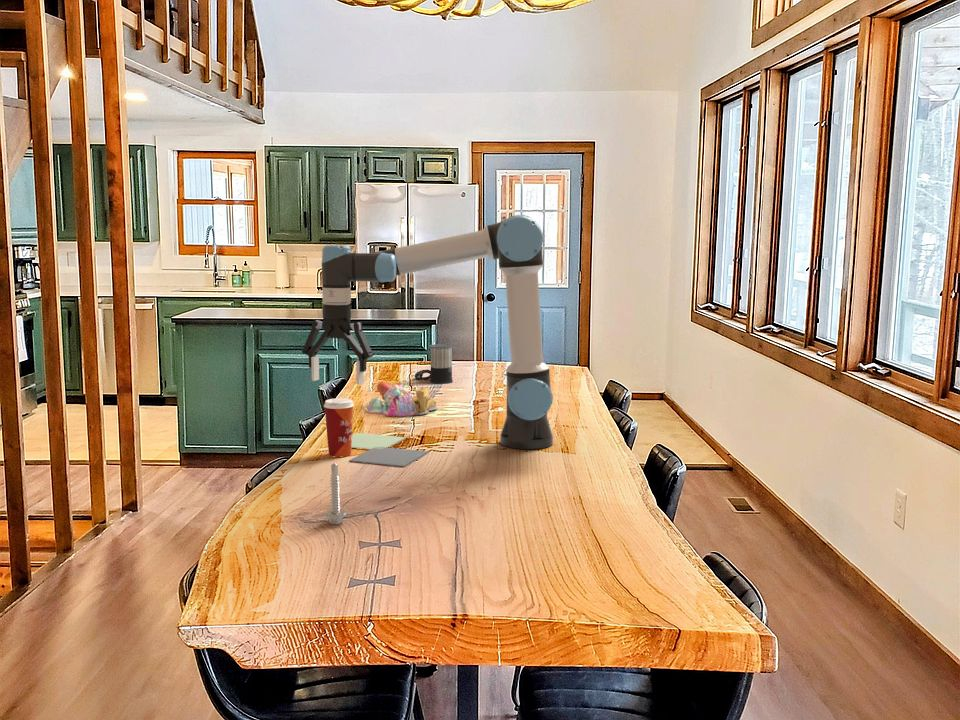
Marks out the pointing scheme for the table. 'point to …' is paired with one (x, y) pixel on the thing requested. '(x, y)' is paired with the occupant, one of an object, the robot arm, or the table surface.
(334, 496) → the screw
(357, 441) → the pad green
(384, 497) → the table surface
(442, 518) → the table surface
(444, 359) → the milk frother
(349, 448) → the coffee cup
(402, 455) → the pad grey
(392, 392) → the pastel sphere sculpture
